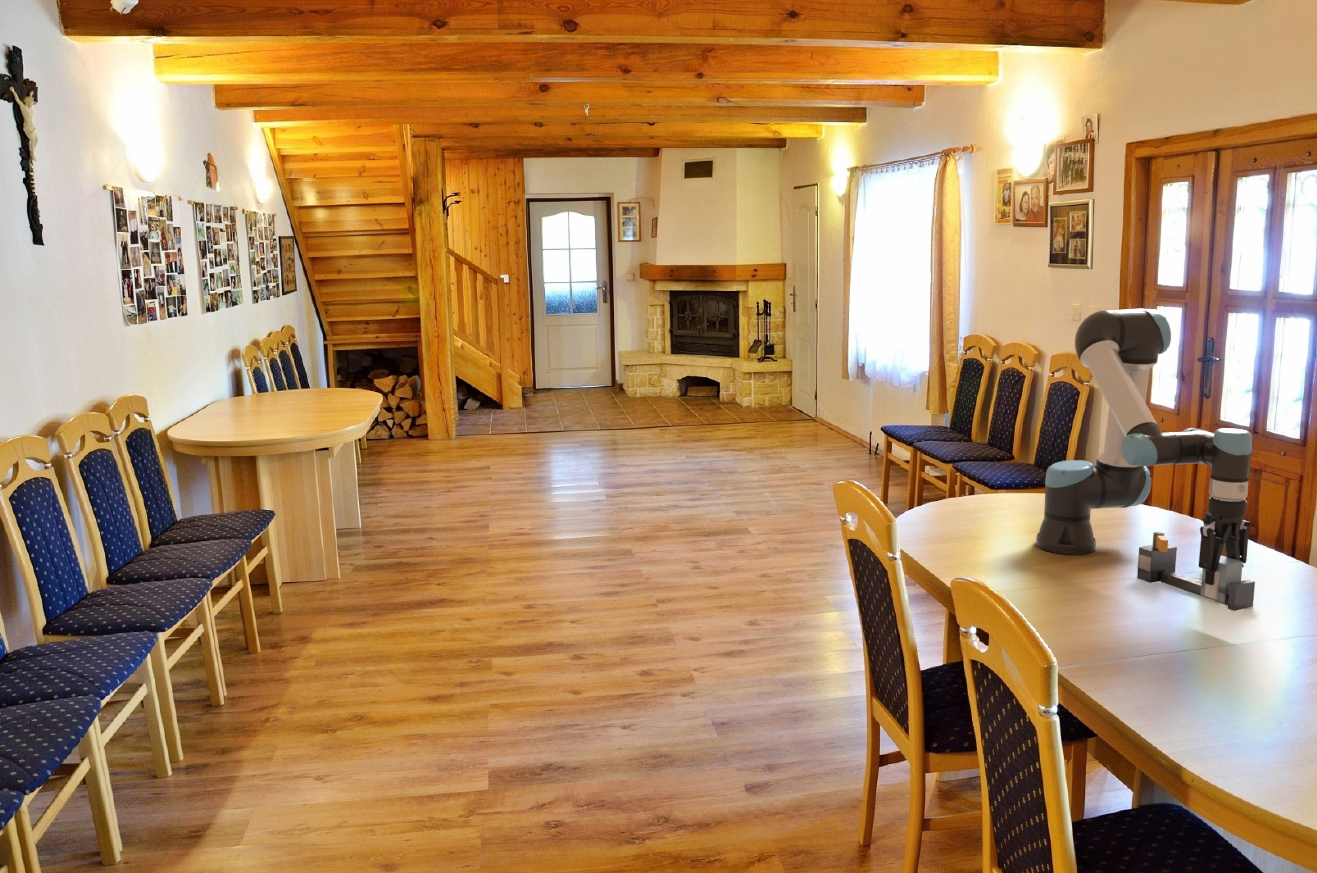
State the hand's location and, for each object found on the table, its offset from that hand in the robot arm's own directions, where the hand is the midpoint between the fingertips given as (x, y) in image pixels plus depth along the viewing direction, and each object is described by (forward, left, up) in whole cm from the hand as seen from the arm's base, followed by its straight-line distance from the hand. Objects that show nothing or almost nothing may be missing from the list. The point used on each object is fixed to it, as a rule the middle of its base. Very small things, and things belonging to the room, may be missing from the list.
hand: (1219, 595), depth 226 cm
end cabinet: (-18, 0, -1) cm, 18 cm away
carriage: (0, 0, -1) cm, 1 cm away
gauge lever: (-16, -1, +7) cm, 17 cm away
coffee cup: (-14, +17, -1) cm, 22 cm away
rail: (-6, 0, -1) cm, 6 cm away
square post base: (+5, 0, -1) cm, 5 cm away
